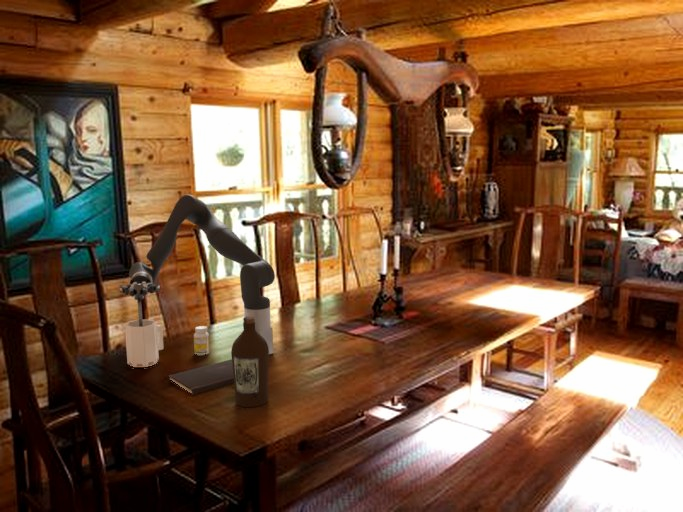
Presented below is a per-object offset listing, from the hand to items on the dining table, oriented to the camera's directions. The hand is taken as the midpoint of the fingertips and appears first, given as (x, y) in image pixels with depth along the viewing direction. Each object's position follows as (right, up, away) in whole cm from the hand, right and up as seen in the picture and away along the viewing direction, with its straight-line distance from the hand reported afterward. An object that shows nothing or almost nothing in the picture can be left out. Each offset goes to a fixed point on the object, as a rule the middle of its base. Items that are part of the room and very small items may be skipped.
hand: (138, 293), depth 198 cm
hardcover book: (+27, -28, -7) cm, 39 cm away
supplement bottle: (+17, -23, +18) cm, 34 cm away
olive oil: (+42, -30, -25) cm, 57 cm away
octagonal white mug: (0, -25, +8) cm, 26 cm away
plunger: (-1, -16, +5) cm, 17 cm away
